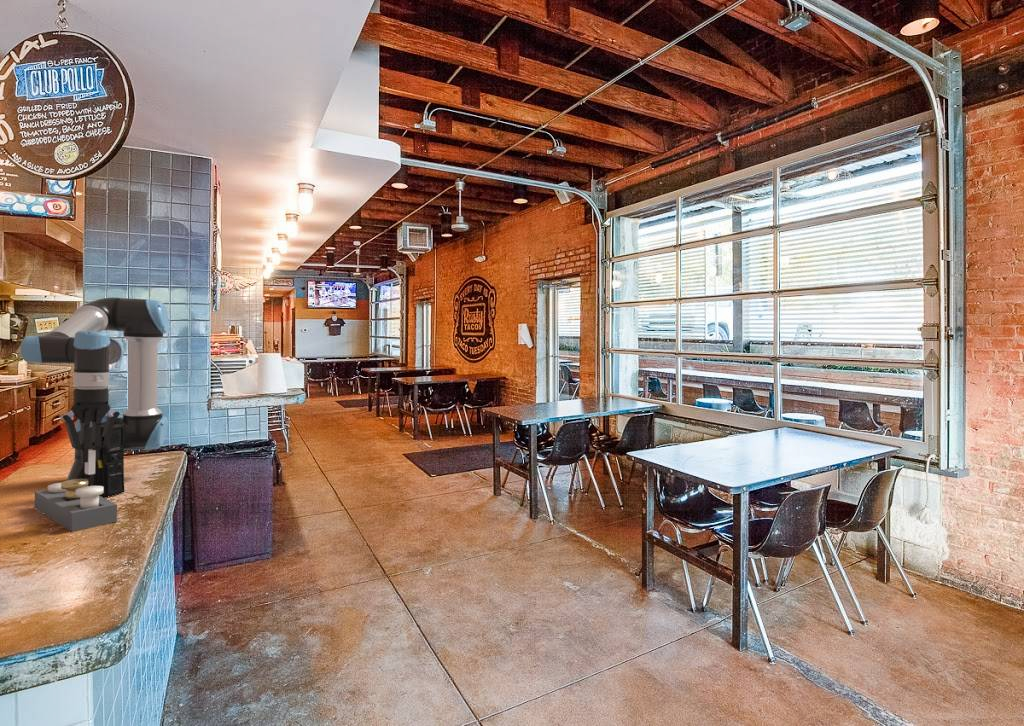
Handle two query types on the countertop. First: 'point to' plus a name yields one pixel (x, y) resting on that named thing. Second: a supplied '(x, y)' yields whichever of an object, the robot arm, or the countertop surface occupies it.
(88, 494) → the knob far
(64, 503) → the console
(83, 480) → the brass knob
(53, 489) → the knob near arm
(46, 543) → the countertop surface
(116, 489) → the portable radio
